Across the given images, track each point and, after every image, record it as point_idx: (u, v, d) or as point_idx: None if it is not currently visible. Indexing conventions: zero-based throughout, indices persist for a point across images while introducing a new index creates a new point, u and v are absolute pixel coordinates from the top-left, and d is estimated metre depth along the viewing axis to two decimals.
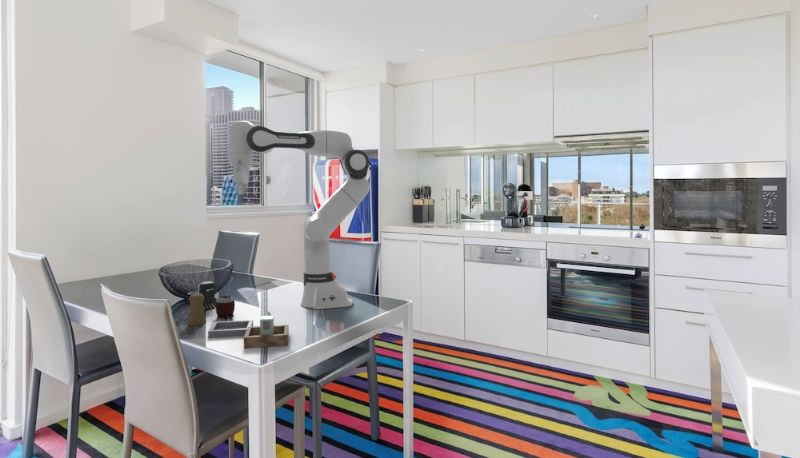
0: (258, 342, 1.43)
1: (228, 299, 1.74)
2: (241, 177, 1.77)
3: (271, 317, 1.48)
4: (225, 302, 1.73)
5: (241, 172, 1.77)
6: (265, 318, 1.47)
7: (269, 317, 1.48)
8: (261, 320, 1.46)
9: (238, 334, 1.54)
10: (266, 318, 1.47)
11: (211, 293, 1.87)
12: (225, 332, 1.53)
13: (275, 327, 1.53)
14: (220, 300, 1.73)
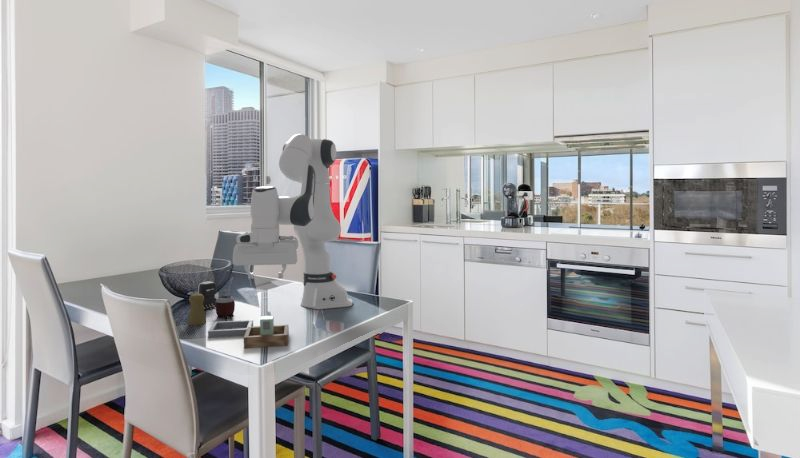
0: (258, 342, 1.43)
1: (228, 299, 1.74)
2: None
3: (271, 317, 1.48)
4: (225, 302, 1.73)
5: None
6: (265, 318, 1.47)
7: (269, 317, 1.48)
8: (261, 320, 1.46)
9: (238, 334, 1.54)
10: (266, 318, 1.47)
11: (211, 293, 1.87)
12: (225, 332, 1.53)
13: (275, 327, 1.53)
14: (220, 300, 1.73)
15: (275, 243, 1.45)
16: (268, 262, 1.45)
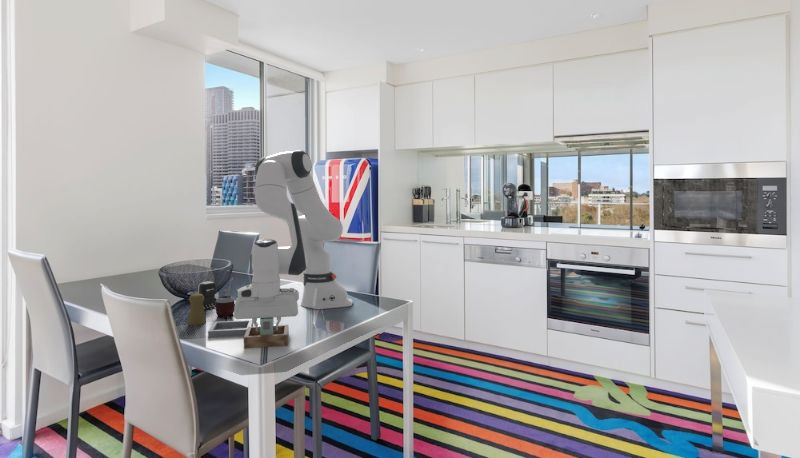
0: (258, 342, 1.43)
1: (228, 299, 1.74)
2: None
3: None
4: (225, 302, 1.73)
5: None
6: (265, 318, 1.47)
7: None
8: (261, 320, 1.46)
9: (238, 334, 1.54)
10: (266, 318, 1.47)
11: (211, 293, 1.87)
12: (225, 332, 1.53)
13: None
14: (220, 300, 1.73)
15: (276, 296, 1.47)
16: (269, 315, 1.47)
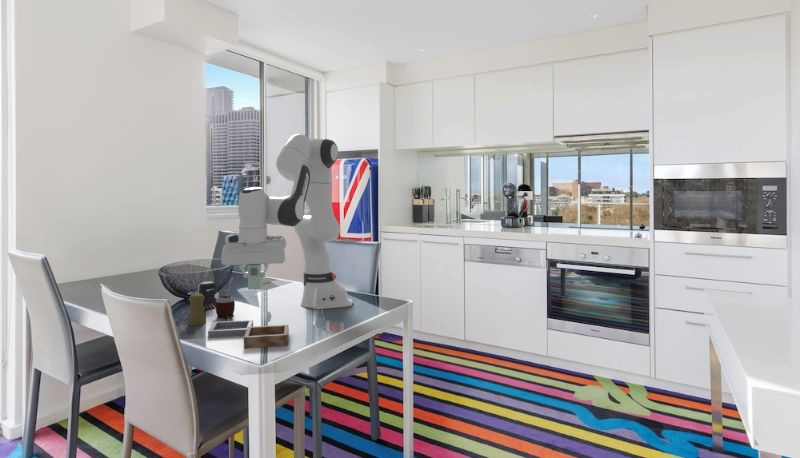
0: (258, 342, 1.43)
1: (228, 299, 1.74)
2: None
3: (258, 264, 1.50)
4: (225, 302, 1.73)
5: None
6: (253, 264, 1.49)
7: (256, 264, 1.50)
8: (248, 266, 1.48)
9: (238, 334, 1.54)
10: (253, 265, 1.49)
11: (211, 293, 1.87)
12: (225, 332, 1.53)
13: (275, 327, 1.53)
14: (220, 300, 1.73)
15: (263, 243, 1.49)
16: (256, 262, 1.49)
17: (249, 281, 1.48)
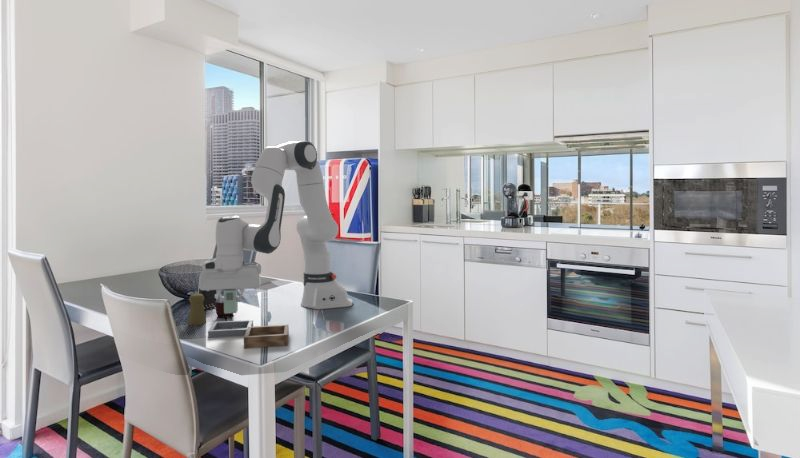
0: (258, 342, 1.43)
1: None
2: None
3: (234, 289, 1.57)
4: None
5: (259, 275, 1.60)
6: (229, 289, 1.56)
7: (233, 289, 1.57)
8: (224, 291, 1.55)
9: (238, 334, 1.54)
10: (229, 290, 1.56)
11: (211, 293, 1.87)
12: (225, 332, 1.53)
13: (275, 327, 1.53)
14: None
15: (239, 269, 1.56)
16: (232, 287, 1.56)
17: (225, 305, 1.56)
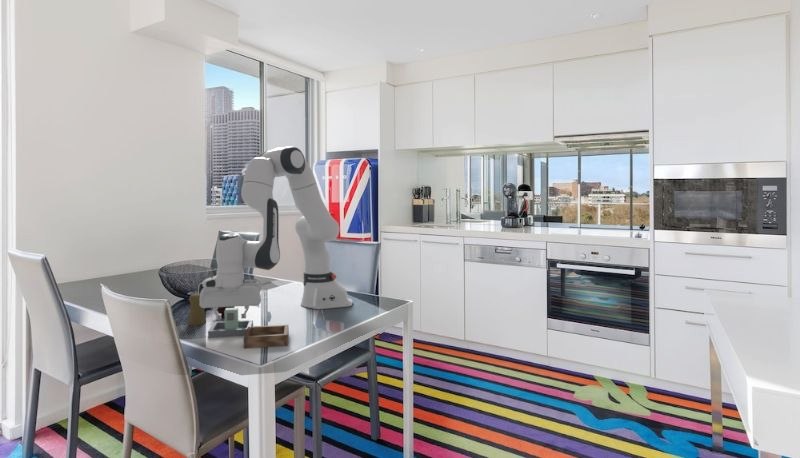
0: (258, 342, 1.43)
1: None
2: None
3: (235, 309, 1.58)
4: None
5: None
6: (229, 310, 1.57)
7: (233, 309, 1.58)
8: (225, 311, 1.56)
9: (238, 334, 1.54)
10: (230, 310, 1.57)
11: None
12: (225, 332, 1.53)
13: (275, 327, 1.53)
14: None
15: (239, 286, 1.56)
16: (233, 304, 1.56)
17: (226, 325, 1.56)
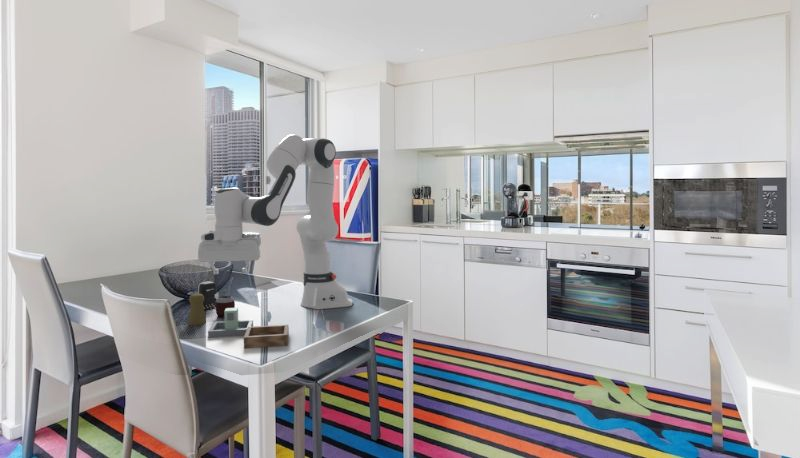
0: (258, 342, 1.43)
1: (228, 299, 1.74)
2: None
3: (235, 309, 1.58)
4: (225, 302, 1.73)
5: None
6: (229, 310, 1.57)
7: (233, 309, 1.58)
8: (225, 311, 1.56)
9: (238, 334, 1.54)
10: (230, 310, 1.57)
11: (211, 293, 1.87)
12: (225, 332, 1.53)
13: (275, 327, 1.53)
14: (220, 300, 1.73)
15: (238, 241, 1.55)
16: (232, 259, 1.55)
17: (226, 325, 1.56)
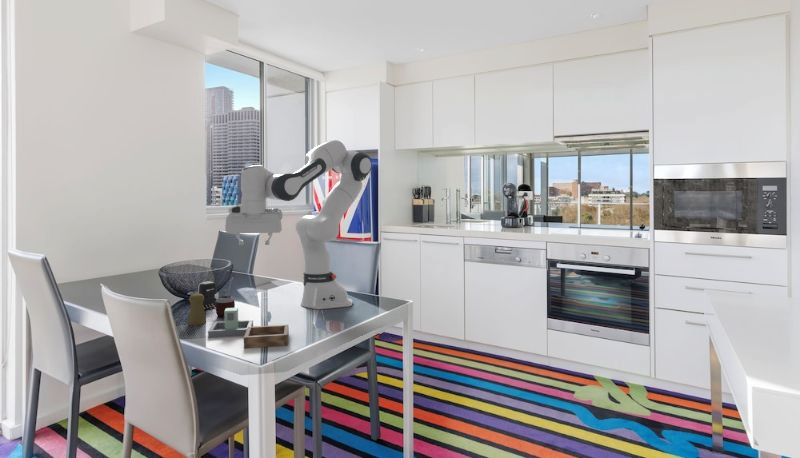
0: (258, 342, 1.43)
1: (228, 299, 1.74)
2: (281, 226, 1.73)
3: (235, 309, 1.58)
4: (225, 302, 1.73)
5: None
6: (229, 310, 1.57)
7: (233, 309, 1.58)
8: (225, 311, 1.56)
9: (238, 334, 1.54)
10: (230, 310, 1.57)
11: (211, 293, 1.87)
12: (225, 332, 1.53)
13: (275, 327, 1.53)
14: (220, 300, 1.73)
15: (262, 214, 1.68)
16: (256, 231, 1.68)
17: (226, 325, 1.56)
